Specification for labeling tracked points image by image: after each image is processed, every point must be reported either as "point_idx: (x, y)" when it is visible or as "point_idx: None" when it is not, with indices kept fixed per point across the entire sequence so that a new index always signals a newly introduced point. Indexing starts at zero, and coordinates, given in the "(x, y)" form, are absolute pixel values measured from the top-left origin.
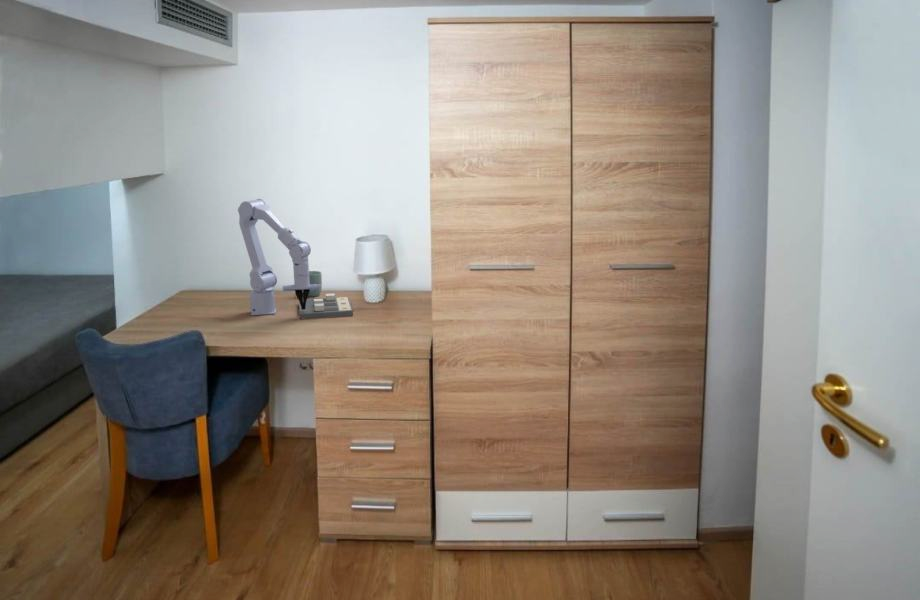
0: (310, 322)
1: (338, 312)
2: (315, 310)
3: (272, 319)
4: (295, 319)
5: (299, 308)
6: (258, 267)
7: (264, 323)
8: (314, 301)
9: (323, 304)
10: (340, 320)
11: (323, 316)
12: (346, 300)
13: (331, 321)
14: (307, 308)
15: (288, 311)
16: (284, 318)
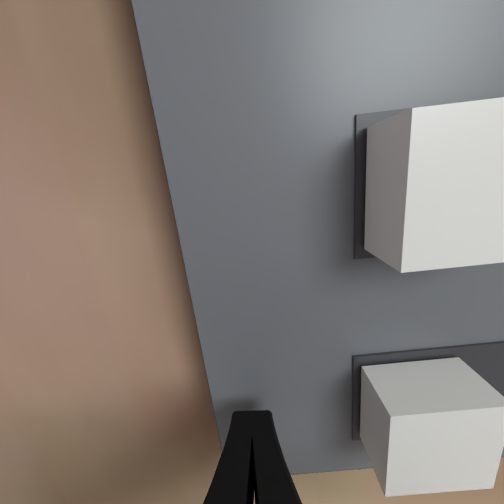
0: (307, 500)
1: None
2: (367, 440)
3: (24, 418)
4: (198, 435)
5: (192, 303)
6: None
7: (10, 490)
8: (406, 269)
9: (499, 450)
10: (500, 484)
11: None
12: None
13: (439, 496)
14: (283, 316)
15: (69, 182)
16: (108, 404)
